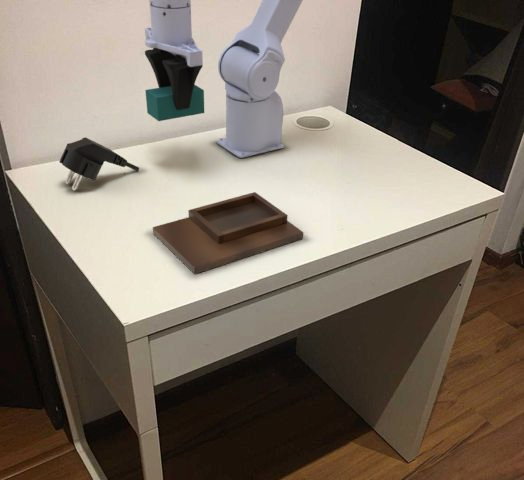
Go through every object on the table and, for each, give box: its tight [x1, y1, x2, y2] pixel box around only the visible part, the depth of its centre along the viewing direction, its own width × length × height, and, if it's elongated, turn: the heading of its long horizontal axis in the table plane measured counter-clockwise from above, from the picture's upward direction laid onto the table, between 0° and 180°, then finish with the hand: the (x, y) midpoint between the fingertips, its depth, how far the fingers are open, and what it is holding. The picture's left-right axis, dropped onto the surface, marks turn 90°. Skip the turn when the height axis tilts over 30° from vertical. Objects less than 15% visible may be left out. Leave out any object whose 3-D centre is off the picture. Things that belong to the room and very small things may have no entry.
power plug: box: [59, 137, 140, 191], centre depth 90 cm, size 6×8×12 cm
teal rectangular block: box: [144, 84, 205, 122], centre depth 91 cm, size 8×4×4 cm, turn 123°
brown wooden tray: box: [152, 191, 304, 275], centre depth 79 cm, size 17×12×2 cm
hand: (175, 103), depth 91 cm, fingers closed on teal rectangular block, 4 cm apart
